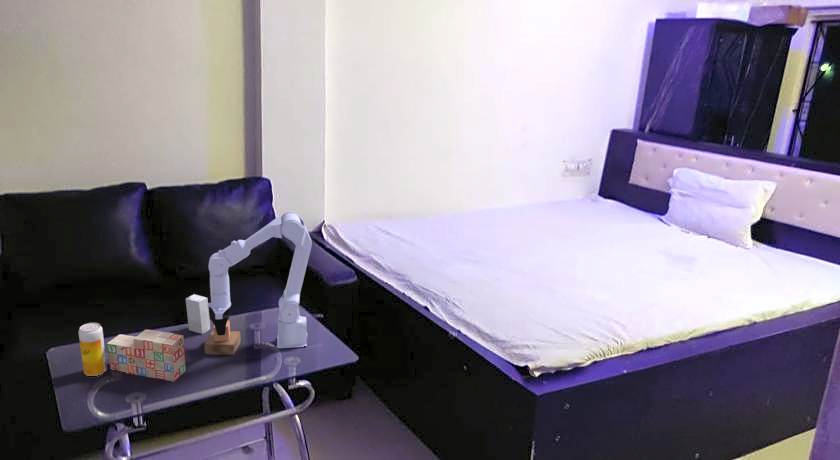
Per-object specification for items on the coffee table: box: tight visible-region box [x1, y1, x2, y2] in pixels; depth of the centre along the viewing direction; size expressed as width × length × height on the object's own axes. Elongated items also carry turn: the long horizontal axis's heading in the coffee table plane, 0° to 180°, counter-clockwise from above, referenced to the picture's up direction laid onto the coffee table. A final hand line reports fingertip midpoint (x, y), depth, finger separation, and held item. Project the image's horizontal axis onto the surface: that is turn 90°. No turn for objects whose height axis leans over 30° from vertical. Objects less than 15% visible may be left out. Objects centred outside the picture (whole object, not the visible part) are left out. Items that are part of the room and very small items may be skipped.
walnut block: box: [204, 330, 242, 356], centre depth 197 cm, size 9×9×4 cm
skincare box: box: [185, 293, 211, 335], centre depth 206 cm, size 6×4×12 cm
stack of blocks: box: [106, 329, 187, 382], centre depth 181 cm, size 21×6×12 cm, turn 79°
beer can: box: [78, 322, 108, 377], centre depth 178 cm, size 6×6×15 cm
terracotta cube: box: [213, 319, 231, 341], centre depth 196 cm, size 4×4×5 cm
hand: (222, 329), depth 196 cm, fingers open, 6 cm apart
